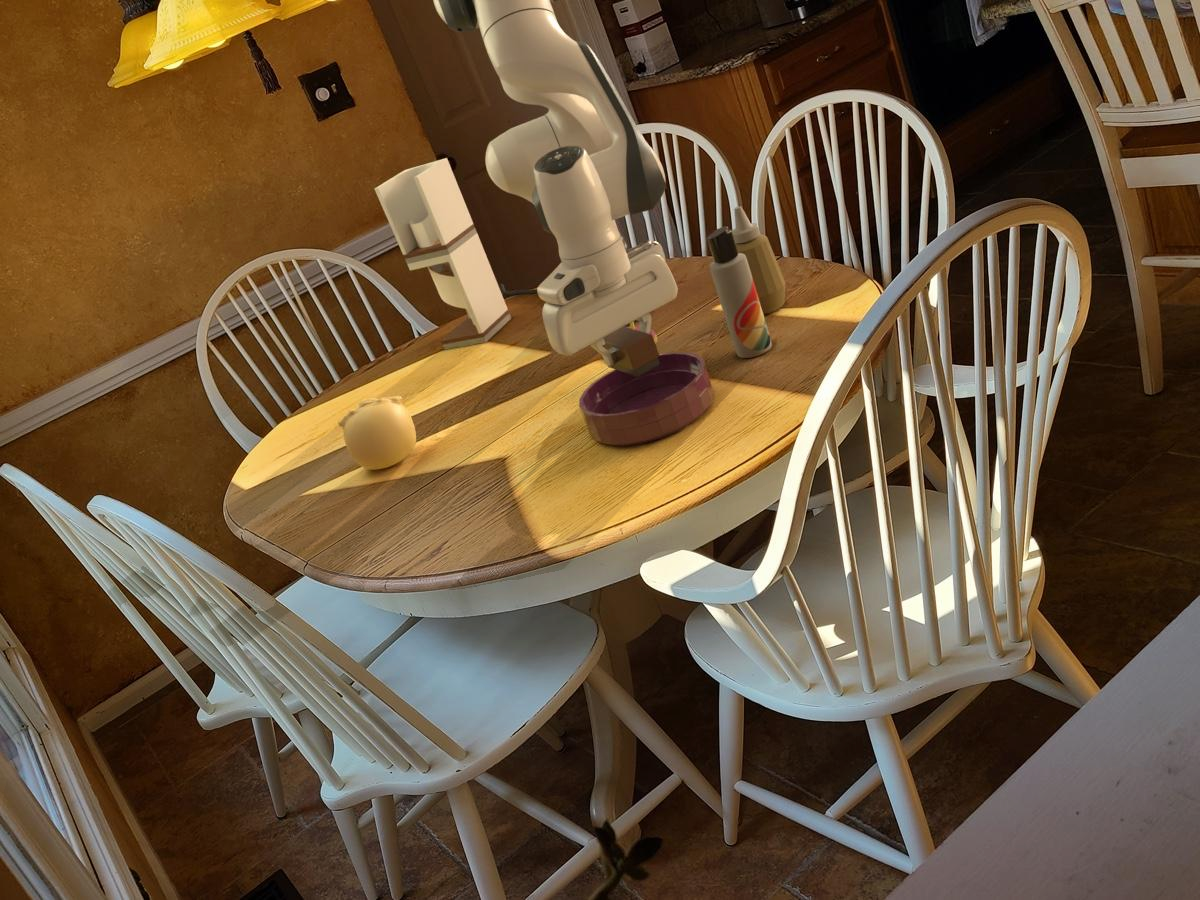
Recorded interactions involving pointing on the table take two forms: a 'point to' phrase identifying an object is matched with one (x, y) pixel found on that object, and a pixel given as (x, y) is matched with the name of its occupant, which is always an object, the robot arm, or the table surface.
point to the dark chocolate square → (632, 351)
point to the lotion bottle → (738, 295)
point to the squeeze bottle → (759, 262)
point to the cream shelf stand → (445, 247)
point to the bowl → (647, 401)
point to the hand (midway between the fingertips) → (628, 354)
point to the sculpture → (379, 432)
